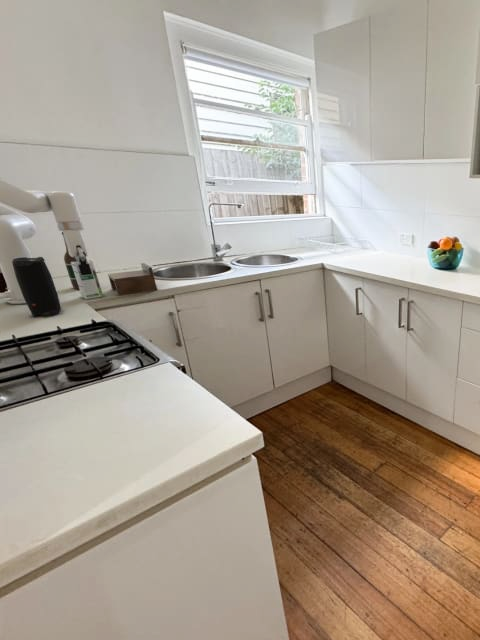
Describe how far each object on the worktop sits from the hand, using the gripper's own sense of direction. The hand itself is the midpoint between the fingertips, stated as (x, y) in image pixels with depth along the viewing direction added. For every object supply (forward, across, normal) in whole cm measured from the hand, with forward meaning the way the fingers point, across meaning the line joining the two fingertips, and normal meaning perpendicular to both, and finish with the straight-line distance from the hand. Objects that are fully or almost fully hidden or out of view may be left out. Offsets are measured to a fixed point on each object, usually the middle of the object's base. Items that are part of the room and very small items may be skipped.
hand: (85, 272), depth 152 cm
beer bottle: (+10, -21, 0) cm, 23 cm away
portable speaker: (+10, +17, -15) cm, 25 cm away
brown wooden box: (+10, -2, +15) cm, 18 cm away
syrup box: (+10, 0, 0) cm, 10 cm away
